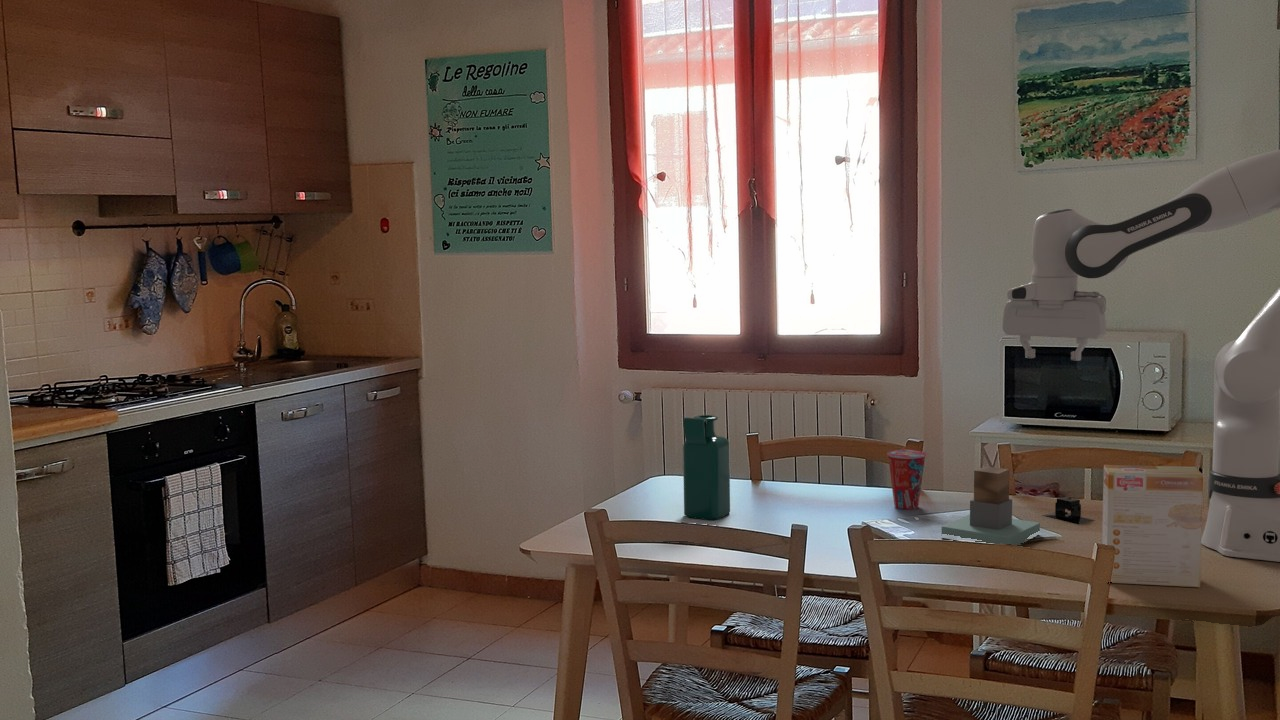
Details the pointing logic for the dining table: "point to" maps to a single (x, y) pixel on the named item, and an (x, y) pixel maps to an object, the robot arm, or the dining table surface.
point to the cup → (906, 477)
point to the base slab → (992, 531)
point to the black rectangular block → (1072, 506)
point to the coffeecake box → (1154, 523)
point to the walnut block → (991, 485)
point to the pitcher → (705, 470)
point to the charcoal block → (991, 514)
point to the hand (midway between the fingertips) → (1052, 359)
